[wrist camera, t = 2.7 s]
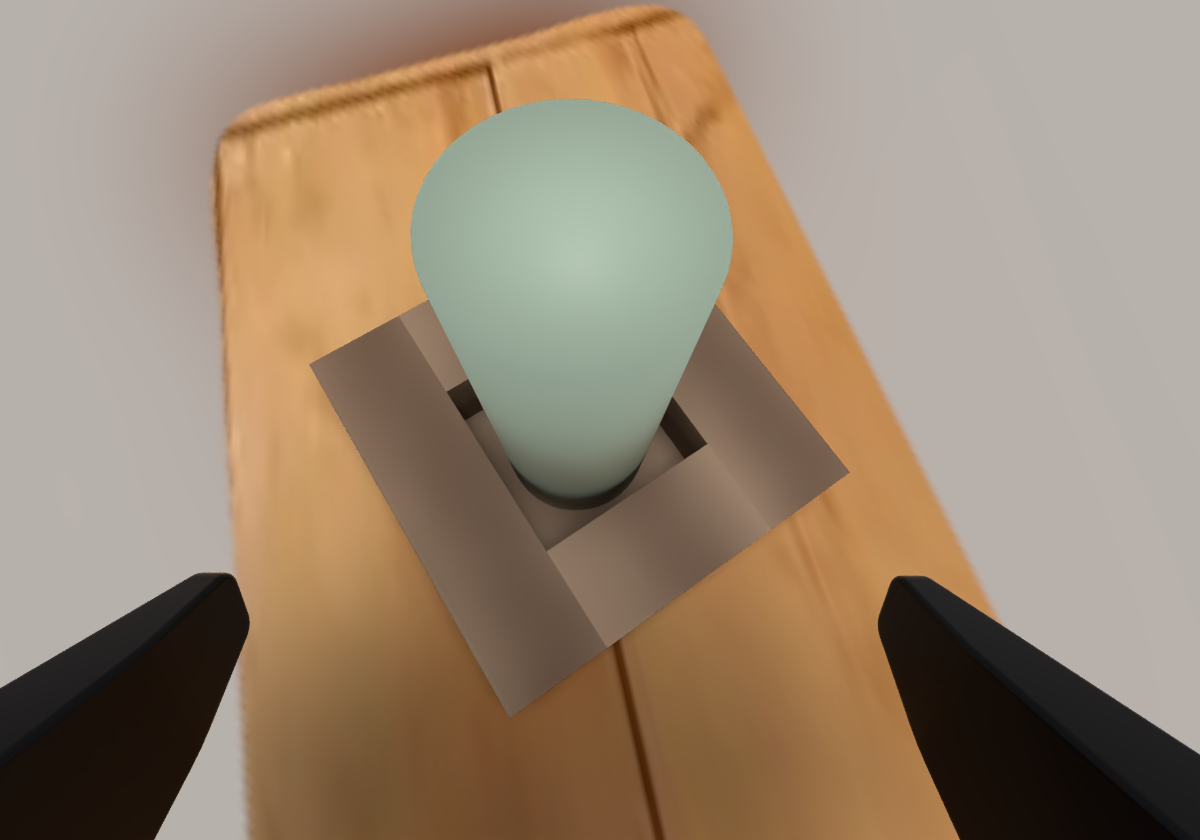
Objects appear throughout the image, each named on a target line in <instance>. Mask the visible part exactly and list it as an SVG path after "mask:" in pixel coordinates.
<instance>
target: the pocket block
mask: <svg viewBox="0 0 1200 840" xmlns="http://www.w3.org/2000/svg"><path fill="white" fill-rule="evenodd" d="M309 365H310V367H311V368H312V370H313V372H314V374H315V375H316V377H317V379H318V381H319V383H320V384H321V386H322V388H323V390H324V391H325V393H326V395H327V397H328V398H329V400H330V402H331V404H332V406H333V407H334V409H335V411H336V413H337V414H338V416H339V418H340V420H341V421H342V423H343V425H344V427H345V429H346V430H347V432H348V434H349V436H350V437H351V439H352V441H353V443H354V444H355V446H356V448H357V450H358V451H359V453H360V455H361V457H362V459H363V460H364V462H365V464H366V466H367V467H368V469H369V471H370V473H371V474H372V476H373V478H374V480H375V482H376V483H377V485H378V487H379V489H380V490H381V492H382V494H383V496H384V497H385V499H386V501H387V503H388V505H389V506H390V508H391V510H392V512H393V513H394V515H395V517H396V519H397V520H398V522H399V524H400V526H401V528H402V529H403V531H404V533H405V535H406V536H407V538H408V540H409V542H410V543H411V545H412V547H413V549H414V551H415V552H416V554H417V556H418V558H419V559H420V561H421V563H422V565H423V566H424V568H425V570H426V572H427V574H428V575H429V577H430V579H431V581H432V582H433V584H434V586H435V588H436V589H437V591H438V593H439V595H440V597H441V598H442V600H443V602H444V604H445V605H446V607H447V609H448V611H449V612H450V614H451V616H452V618H453V620H454V621H455V623H456V625H457V627H458V628H459V630H460V632H461V634H462V635H463V637H464V639H465V641H466V642H467V644H468V646H469V648H470V650H471V651H472V653H473V655H474V657H475V658H476V660H477V662H478V664H479V665H480V667H481V669H482V671H483V673H484V674H485V676H486V678H487V680H488V681H489V683H490V685H491V687H492V688H493V690H494V692H495V694H496V696H497V697H498V699H499V701H500V703H501V704H502V706H503V708H504V710H505V711H506V713H507V715H508V717H509V719H510V718H511V717H512V716H514V715H515V714H517V713H518V712H519V711H521V710H522V709H524V708H525V707H526V706H528V705H529V704H530V703H532V702H533V701H535V700H536V699H537V698H539V697H540V696H542V695H543V694H544V693H546V692H547V691H548V690H550V689H551V688H553V687H554V686H555V685H557V684H558V683H559V682H561V681H562V680H564V679H565V678H566V677H568V676H569V675H571V674H572V673H573V672H575V671H576V670H577V669H579V668H580V667H582V666H583V665H584V664H586V663H587V662H589V661H590V660H591V659H593V658H594V657H595V656H597V655H598V654H600V653H601V652H602V651H604V650H605V649H606V648H608V647H609V646H611V645H612V644H613V643H615V642H616V641H618V640H619V639H620V638H622V637H623V636H624V635H626V634H627V633H629V632H630V631H631V630H633V629H634V628H635V627H637V626H638V625H640V624H641V623H642V622H644V621H645V620H647V619H648V618H649V617H651V616H652V615H653V614H655V613H656V612H658V611H659V610H660V609H662V608H663V607H665V606H666V605H667V604H669V603H670V602H671V601H673V600H674V599H676V598H677V597H678V596H680V595H681V594H682V593H684V592H685V591H687V590H688V589H689V588H691V587H692V586H694V585H695V584H696V583H698V582H699V581H700V580H702V579H703V578H705V577H706V576H707V575H709V574H710V573H712V572H713V571H714V570H716V569H717V568H718V567H720V566H721V565H723V564H724V563H725V562H727V561H728V560H729V559H731V558H732V557H734V556H735V555H736V554H738V553H739V552H741V551H742V550H743V549H745V548H746V547H747V546H749V545H750V544H752V543H753V542H754V541H756V540H757V539H759V538H760V537H761V536H763V535H764V534H765V533H767V532H768V531H770V530H771V529H772V528H774V527H775V526H776V525H778V524H779V523H781V522H782V521H783V520H785V519H786V518H788V517H789V516H790V515H792V514H793V513H794V512H796V511H797V510H799V509H800V508H801V507H803V506H804V505H806V504H807V503H808V502H810V501H811V500H812V499H814V498H815V497H817V496H818V495H819V494H821V493H822V492H823V491H825V490H826V489H828V488H829V487H830V486H832V485H833V484H835V483H836V482H837V481H839V480H840V479H841V478H843V477H844V476H846V475H847V474H848V473H850V472H849V471H848V469H847V468H846V467H845V466H844V464H843V463H842V462H841V461H840V459H839V458H838V457H837V456H836V454H835V453H834V452H833V451H832V449H831V448H830V447H829V446H828V444H827V443H826V442H825V441H824V439H823V438H822V437H821V436H820V434H819V433H818V432H817V431H816V429H815V428H814V427H813V426H812V424H811V423H810V422H809V421H808V419H807V418H806V417H805V416H804V414H803V413H802V412H801V411H800V409H799V408H798V407H797V406H796V404H795V403H794V402H793V401H792V399H791V398H790V397H789V396H788V394H787V393H786V392H785V391H784V389H783V388H782V387H781V386H780V384H779V383H778V382H777V381H776V379H775V378H774V377H773V376H772V374H771V373H770V372H769V371H768V369H767V368H766V367H765V366H764V364H763V363H762V362H761V361H760V359H759V358H758V357H757V356H756V354H755V353H754V352H753V351H752V349H751V348H750V347H749V346H748V344H747V343H746V342H745V341H744V339H743V338H742V337H741V336H740V334H739V333H738V332H737V331H736V329H735V328H734V327H733V326H732V324H731V323H730V322H729V321H728V319H727V318H726V317H725V316H724V314H723V313H722V312H721V311H720V309H719V308H718V307H717V306H716V304H714V307H713V309H712V311H711V313H710V315H709V317H708V320H707V322H706V324H705V326H704V328H703V331H702V333H701V335H700V337H699V339H698V341H697V344H696V346H695V348H694V350H693V352H692V355H691V357H690V359H689V361H688V363H687V365H686V368H685V370H684V372H683V374H682V376H681V379H680V381H679V383H678V385H677V387H676V389H675V392H674V394H673V396H672V398H671V400H670V403H669V405H668V407H667V409H666V411H665V413H664V416H663V418H662V420H661V422H660V424H659V426H658V429H657V431H656V433H655V435H654V437H653V440H652V442H651V444H650V446H649V448H648V450H647V453H646V455H645V457H644V459H643V461H642V464H641V466H640V468H639V470H638V472H637V474H636V476H635V478H634V479H633V481H632V482H631V484H630V485H629V486H628V487H627V488H626V489H625V490H624V491H623V492H622V493H621V494H620V495H619V496H618V497H616V498H615V499H613V500H612V501H610V502H608V503H606V504H604V505H601V506H599V507H596V508H592V509H587V510H566V509H560V508H557V507H553V506H551V505H548V504H546V503H544V502H542V501H541V500H539V499H537V498H536V497H535V496H534V495H532V494H531V493H530V492H529V491H528V490H527V489H526V488H525V487H524V486H523V484H522V483H521V482H520V480H519V479H518V477H517V475H516V473H515V471H514V469H513V467H512V465H511V463H510V461H509V459H508V457H507V455H506V453H505V451H504V449H503V447H502V445H501V443H500V441H499V439H498V437H497V435H496V433H495V431H494V429H493V427H492V425H491V423H490V421H489V419H488V417H487V415H486V413H485V411H484V409H483V407H482V405H481V403H480V401H479V399H478V397H477V395H476V393H475V391H474V389H473V387H472V385H471V383H470V381H469V379H468V377H467V375H466V373H465V371H464V369H463V367H462V365H461V363H460V361H459V359H458V357H457V355H456V353H455V351H454V349H453V347H452V345H451V343H450V341H449V339H448V337H447V335H446V333H445V331H444V329H443V327H442V325H441V323H440V321H439V319H438V317H437V315H436V313H435V311H434V309H433V307H432V305H431V303H430V301H429V300H427V301H425V302H423V303H422V304H420V305H418V306H416V307H414V308H412V309H411V310H409V311H407V312H405V313H403V314H401V315H399V316H398V317H396V318H394V319H392V320H390V321H388V322H387V323H385V324H383V325H381V326H379V327H377V328H375V329H374V330H372V331H370V332H368V333H366V334H364V335H363V336H361V337H359V338H357V339H355V340H353V341H351V342H350V343H348V344H346V345H344V346H342V347H340V348H339V349H337V350H335V351H333V352H331V353H329V354H327V355H326V356H324V357H322V358H320V359H318V360H316V361H314V362H313V363H311V364H309Z"/></svg>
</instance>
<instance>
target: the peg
mask: <svg viewBox="0 0 1200 840" xmlns="http://www.w3.org/2000/svg"><path fill="white" fill-rule="evenodd" d="M732 245H733V231H732V220H731V215H730V211H729V207H728V202H727V200H726V197H725V195H724V192H723V190H722V187H721V185H720V183H719V181H718V180H717V178H716V176H715V174H714V173H713V171H712V169H711V168H710V167H709V165H708V164H707V163H706V161H705V160H704V159H703V157H702V156H701V155H700V154H699V153H698V152H697V151H696V150H695V149H694V148H693V147H692V146H691V145H690V144H689V143H688V142H687V141H686V140H684V139H683V138H682V137H681V136H680V135H678V134H677V133H676V132H675V131H673V130H671V129H670V128H668V127H667V126H665V125H664V124H662V123H660V122H659V121H657V120H655V119H653V118H651V117H649V116H646V115H644V114H642V113H640V112H637V111H634V110H631V109H629V108H626V107H623V106H619V105H615V104H611V103H606V102H600V101H593V100H585V99H558V100H546V101H540V102H534V103H529V104H525V105H521V106H518V107H515V108H511V109H508V110H506V111H503V112H501V113H499V114H496V115H494V116H491V117H489V118H488V119H486V120H484V121H482V122H480V123H479V124H477V125H475V126H474V127H472V128H471V129H469V130H468V131H467V132H465V133H464V134H463V135H461V136H460V137H459V138H458V139H456V140H455V141H454V142H453V143H452V144H451V145H450V146H449V147H448V148H447V149H446V150H445V151H444V152H443V153H442V155H441V156H440V157H439V158H438V159H437V161H436V162H435V163H434V165H433V166H432V168H431V169H430V171H429V173H428V174H427V176H426V177H425V179H424V181H423V184H422V186H421V188H420V191H419V193H418V195H417V199H416V202H415V206H414V210H413V214H412V223H411V250H412V255H413V260H414V265H415V269H416V272H417V274H418V277H419V280H420V283H421V285H422V287H423V289H424V291H425V293H426V295H427V297H428V299H429V301H430V303H431V305H432V307H433V309H434V311H435V313H436V315H437V317H438V319H439V321H440V323H441V325H442V327H443V329H444V331H445V333H446V335H447V337H448V339H449V341H450V343H451V345H452V347H453V349H454V351H455V353H456V355H457V357H458V359H459V361H460V363H461V365H462V367H463V369H464V371H465V373H466V375H467V377H468V379H469V381H470V383H471V385H472V387H473V389H474V391H475V393H476V395H477V397H478V399H479V401H480V403H481V405H482V407H483V409H484V411H485V413H486V415H487V417H488V419H489V421H490V423H491V425H492V427H493V429H494V431H495V433H496V435H497V437H498V439H499V441H500V443H501V445H502V447H503V449H504V451H505V453H506V455H507V457H508V459H509V461H510V463H511V465H512V467H513V469H514V471H515V473H516V475H517V477H518V479H519V480H520V482H521V483H522V484H523V486H524V487H525V488H526V489H527V490H528V491H529V492H530V493H531V494H532V495H534V496H535V497H536V498H537V499H539V500H541V501H542V502H544V503H546V504H548V505H551V506H553V507H557V508H560V509H566V510H587V509H592V508H596V507H599V506H601V505H604V504H606V503H608V502H610V501H612V500H613V499H615V498H616V497H618V496H619V495H620V494H621V493H622V492H623V491H624V490H625V489H626V488H627V487H628V486H629V485H630V484H631V482H632V481H633V479H634V478H635V476H636V474H637V472H638V470H639V468H640V466H641V464H642V461H643V459H644V457H645V455H646V453H647V450H648V448H649V446H650V444H651V442H652V440H653V437H654V435H655V433H656V431H657V429H658V426H659V424H660V422H661V420H662V418H663V416H664V413H665V411H666V409H667V407H668V405H669V403H670V400H671V398H672V396H673V394H674V392H675V389H676V387H677V385H678V383H679V381H680V379H681V376H682V374H683V372H684V370H685V368H686V365H687V363H688V361H689V359H690V357H691V355H692V352H693V350H694V348H695V346H696V344H697V341H698V339H699V337H700V335H701V333H702V331H703V328H704V326H705V324H706V322H707V320H708V317H709V315H710V313H711V311H712V309H713V307H714V304H715V302H716V300H717V298H718V296H719V294H720V291H721V289H722V286H723V284H724V281H725V279H726V276H727V274H728V270H729V265H730V261H731V256H732Z"/></svg>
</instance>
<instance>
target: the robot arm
mask: <svg viewBox="0 0 1200 840" xmlns="http://www.w3.org/2000/svg"><path fill="white" fill-rule="evenodd" d="M249 625H250V621H249V614H248V611H247V609H246V606H245V603H244V600H243V597H242V595H241V592H240V589H239V586H238V583H237V581H236V579H235V577H233V576H232V575H231V574H228V573H198V574H195V575H193V576H191V577H189V578H188V579H186V580H184V581H183V582H181V583H179V584H177V585H176V586H174V587H172V588H171V589H169V590H167V591H166V592H164V593H162V594H160V595H159V596H157V597H155V598H154V599H152V600H150V601H148V602H147V603H145V604H143V605H142V606H140V607H138V608H137V609H135V610H133V611H131V612H130V613H128V614H126V615H125V616H123V617H121V618H120V619H118V620H116V621H115V622H113V623H111V624H109V625H107V626H106V627H104V628H102V629H101V630H99V631H97V632H95V633H94V634H92V635H90V636H89V637H87V638H85V639H84V640H82V641H80V642H78V643H77V644H75V645H73V646H72V647H70V648H68V649H66V650H65V651H63V652H62V653H60V654H58V655H56V656H54V657H53V658H51V659H49V660H48V661H46V662H44V663H43V664H41V665H39V666H38V667H36V668H34V669H32V670H31V671H29V672H27V673H25V674H24V675H22V676H20V677H19V678H17V679H16V680H14V681H12V682H10V683H8V684H7V685H5V686H3V687H2V688H0V840H154V839H155V837H156V835H157V833H158V831H159V829H160V827H161V826H162V824H163V822H164V820H165V818H166V816H167V814H168V812H169V810H170V808H171V806H172V804H173V802H174V801H175V799H176V797H177V795H178V793H179V791H180V789H181V787H182V785H183V783H184V781H185V779H186V777H187V776H188V774H189V772H190V770H191V768H192V766H193V764H194V762H195V760H196V758H197V756H198V754H199V752H200V750H201V748H202V745H203V743H204V740H205V738H206V736H207V734H208V731H209V729H210V727H211V724H212V722H213V719H214V717H215V714H216V712H217V709H218V707H219V705H220V702H221V700H222V697H223V695H224V692H225V690H226V687H227V684H228V682H229V680H230V677H231V675H232V672H233V670H234V667H235V665H236V662H237V660H238V658H239V655H240V653H241V650H242V648H243V645H244V643H245V640H246V638H247V635H248V631H249ZM878 631H879V635H880V639H881V642H882V645H883V648H884V650H885V653H886V656H887V659H888V662H889V665H890V668H891V671H892V674H893V677H894V680H895V683H896V686H897V689H898V691H899V694H900V697H901V700H902V703H903V706H904V709H905V712H906V715H907V718H908V721H909V724H910V726H911V729H912V732H913V735H914V737H915V740H916V743H917V745H918V747H919V750H920V752H921V754H922V757H923V759H924V761H925V764H926V766H927V768H928V770H929V773H930V775H931V777H932V779H933V781H934V784H935V786H936V788H937V790H938V792H939V795H940V797H941V799H942V801H943V803H944V806H945V808H946V810H947V812H948V814H949V817H950V819H951V821H952V823H953V825H954V828H955V830H956V832H957V834H958V836H959V839H960V840H1200V754H1198V753H1197V752H1195V751H1194V750H1192V749H1191V748H1189V747H1188V746H1186V745H1184V744H1183V743H1181V742H1180V741H1178V740H1177V739H1175V738H1174V737H1172V736H1170V735H1169V734H1168V733H1166V732H1165V731H1163V730H1161V729H1160V728H1158V727H1157V726H1155V725H1154V724H1152V723H1151V722H1149V721H1148V720H1146V719H1145V718H1143V717H1142V716H1140V715H1139V714H1137V713H1135V712H1134V711H1132V710H1131V709H1129V708H1128V707H1126V706H1125V705H1123V704H1122V703H1120V702H1118V701H1117V700H1116V699H1114V698H1112V697H1111V696H1109V695H1108V694H1106V693H1105V692H1103V691H1102V690H1100V689H1099V688H1097V687H1096V686H1094V685H1093V684H1091V683H1089V682H1088V681H1086V680H1085V679H1083V678H1082V677H1080V676H1079V675H1077V674H1076V673H1074V672H1073V671H1071V670H1070V669H1068V668H1067V667H1065V666H1063V665H1062V664H1060V663H1059V662H1057V661H1056V660H1054V659H1053V658H1051V657H1050V656H1048V655H1046V654H1045V653H1044V652H1042V651H1040V650H1039V649H1037V648H1036V647H1034V646H1033V645H1031V644H1030V643H1028V642H1027V641H1025V640H1024V639H1022V638H1021V637H1019V636H1017V635H1016V634H1014V633H1013V632H1011V631H1010V630H1008V629H1007V628H1005V627H1004V626H1002V625H1001V624H999V623H998V622H996V621H995V620H993V619H991V618H990V617H988V616H987V615H985V614H984V613H982V612H981V611H979V610H978V609H976V608H975V607H973V606H972V605H970V604H968V603H967V602H965V601H964V600H962V599H961V598H959V597H958V596H956V595H955V594H953V593H952V592H950V591H949V590H947V589H946V588H944V587H942V586H941V585H939V584H938V583H936V582H935V581H933V580H932V579H930V578H928V577H925V576H897V577H895V578H894V579H893V580H892V581H891V583H890V586H889V589H888V592H887V594H886V597H885V600H884V603H883V606H882V609H881V612H880V614H879V618H878Z"/></svg>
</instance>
